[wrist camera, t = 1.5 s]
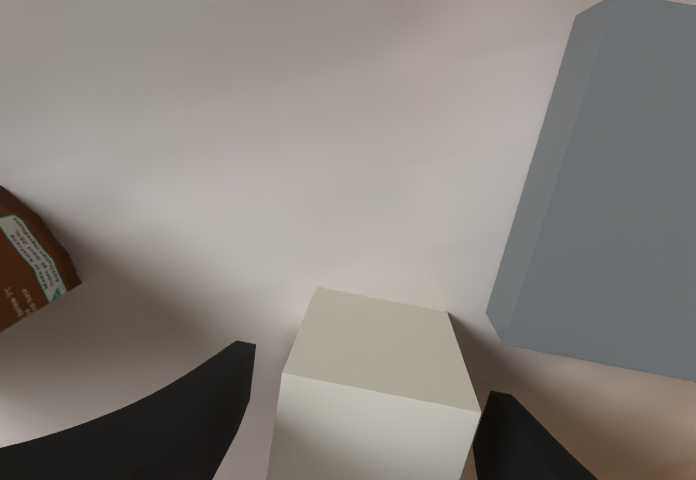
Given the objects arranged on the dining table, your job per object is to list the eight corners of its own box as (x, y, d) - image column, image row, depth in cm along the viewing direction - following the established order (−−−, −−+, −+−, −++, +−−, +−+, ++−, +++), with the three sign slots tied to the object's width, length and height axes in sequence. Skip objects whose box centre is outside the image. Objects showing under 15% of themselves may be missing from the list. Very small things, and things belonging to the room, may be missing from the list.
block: (417, 418, 15) (434, 558, 10) (298, 394, 15) (260, 520, 10) (446, 311, 14) (481, 412, 9) (316, 285, 14) (281, 372, 9)
